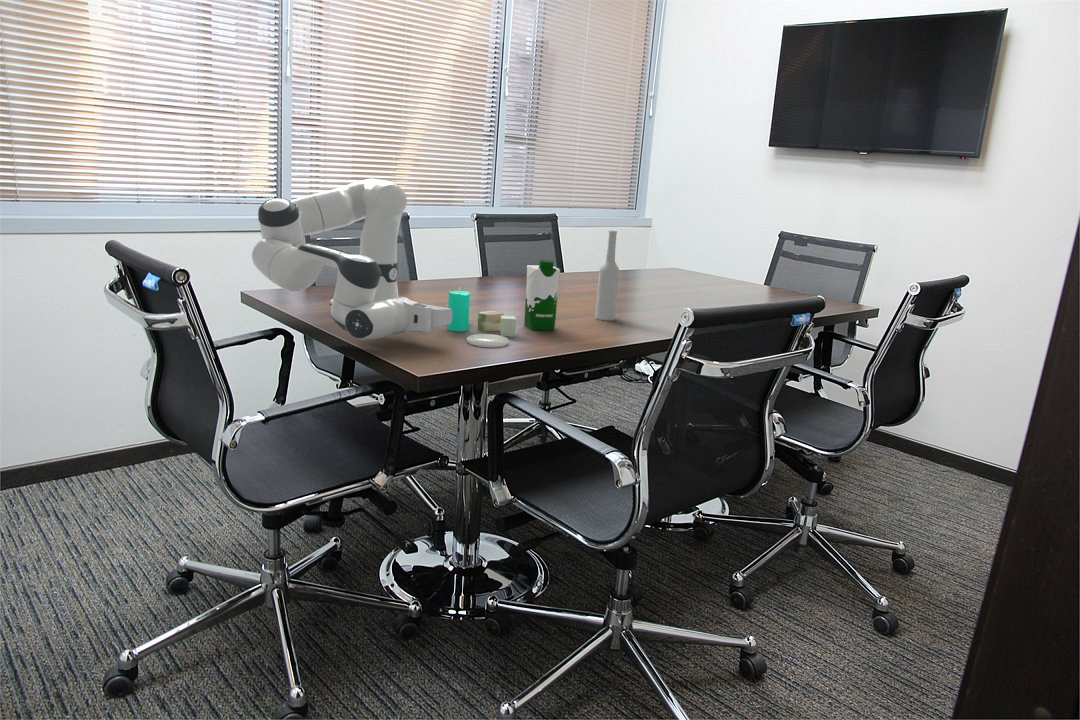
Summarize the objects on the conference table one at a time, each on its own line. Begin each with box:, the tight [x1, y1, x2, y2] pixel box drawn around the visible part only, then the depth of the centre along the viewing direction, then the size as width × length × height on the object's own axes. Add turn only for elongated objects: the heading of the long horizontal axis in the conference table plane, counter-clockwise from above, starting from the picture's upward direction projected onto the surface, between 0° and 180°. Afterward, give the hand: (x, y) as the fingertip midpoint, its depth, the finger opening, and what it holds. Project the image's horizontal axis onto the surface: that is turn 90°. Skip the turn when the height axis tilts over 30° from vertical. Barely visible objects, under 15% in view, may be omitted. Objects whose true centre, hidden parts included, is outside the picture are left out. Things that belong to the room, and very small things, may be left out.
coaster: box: [466, 333, 509, 349], centre depth 203 cm, size 11×11×1 cm
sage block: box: [499, 315, 517, 338], centre depth 213 cm, size 4×4×5 cm
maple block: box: [476, 310, 504, 333], centre depth 218 cm, size 4×6×5 cm, turn 132°
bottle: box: [594, 230, 620, 322], centre depth 242 cm, size 7×7×28 cm
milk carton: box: [523, 259, 561, 331], centre depth 223 cm, size 9×9×20 cm
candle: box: [446, 286, 471, 332], centre depth 215 cm, size 6×6×12 cm
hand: (433, 307), depth 204 cm, fingers open, 8 cm apart
